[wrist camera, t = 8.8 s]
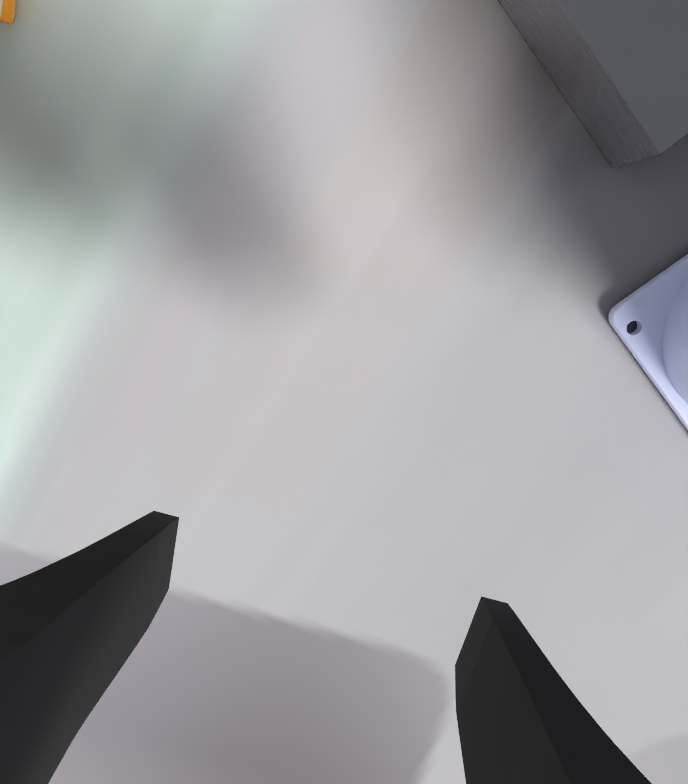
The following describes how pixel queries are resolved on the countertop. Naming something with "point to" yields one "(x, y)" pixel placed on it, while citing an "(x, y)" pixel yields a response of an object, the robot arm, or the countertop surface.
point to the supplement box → (7, 10)
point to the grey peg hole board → (615, 67)
